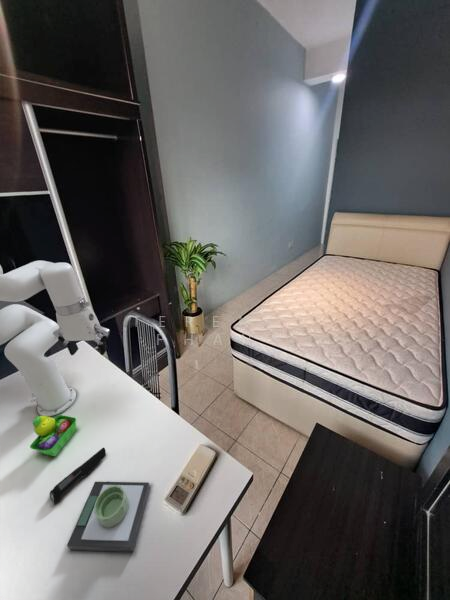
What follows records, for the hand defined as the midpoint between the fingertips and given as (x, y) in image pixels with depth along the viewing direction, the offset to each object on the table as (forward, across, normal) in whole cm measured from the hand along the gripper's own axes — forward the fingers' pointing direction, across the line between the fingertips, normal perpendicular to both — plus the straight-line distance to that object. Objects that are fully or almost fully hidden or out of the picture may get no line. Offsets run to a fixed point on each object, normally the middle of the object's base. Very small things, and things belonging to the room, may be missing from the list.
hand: (89, 352), depth 79 cm
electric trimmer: (+26, -1, +23) cm, 35 cm away
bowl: (+23, -16, +32) cm, 43 cm away
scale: (+26, -15, +32) cm, 44 cm away
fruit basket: (+26, +12, +13) cm, 32 cm away
